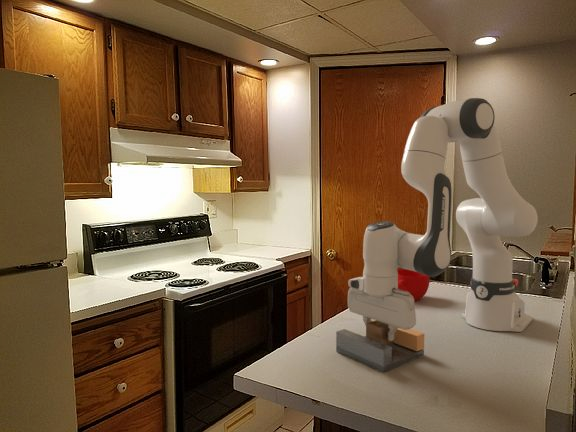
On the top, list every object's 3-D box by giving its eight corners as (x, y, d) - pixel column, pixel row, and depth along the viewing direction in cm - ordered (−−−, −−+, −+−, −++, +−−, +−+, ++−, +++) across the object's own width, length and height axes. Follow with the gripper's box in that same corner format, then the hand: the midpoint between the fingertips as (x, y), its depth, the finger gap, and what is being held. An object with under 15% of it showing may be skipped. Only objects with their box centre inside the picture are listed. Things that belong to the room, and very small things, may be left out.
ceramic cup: (382, 302, 159) (382, 275, 158) (403, 292, 172) (403, 267, 171) (416, 308, 151) (416, 280, 150) (435, 297, 164) (435, 271, 163)
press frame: (376, 337, 125) (376, 318, 124) (423, 355, 112) (424, 334, 112) (336, 351, 115) (336, 331, 115) (383, 372, 103) (383, 350, 102)
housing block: (378, 337, 117) (378, 318, 116) (393, 342, 113) (393, 323, 112) (366, 342, 114) (366, 322, 113) (380, 347, 110) (381, 328, 109)
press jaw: (376, 331, 125) (376, 317, 124) (424, 348, 112) (424, 333, 112) (369, 333, 123) (369, 319, 123) (417, 351, 110) (417, 336, 110)
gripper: (421, 290, 106) (421, 345, 107) (359, 276, 122) (359, 323, 123) (405, 295, 102) (405, 352, 103) (343, 279, 118) (343, 328, 119)
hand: (379, 336), depth 113 cm, fingers closed on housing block, 5 cm apart
